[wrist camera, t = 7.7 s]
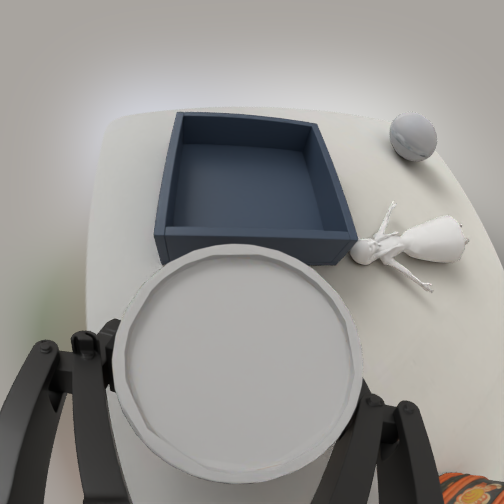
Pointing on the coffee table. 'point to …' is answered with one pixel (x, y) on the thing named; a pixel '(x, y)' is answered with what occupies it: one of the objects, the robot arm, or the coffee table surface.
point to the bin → (251, 189)
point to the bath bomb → (413, 136)
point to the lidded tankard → (470, 489)
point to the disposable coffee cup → (237, 364)
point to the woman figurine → (413, 244)
